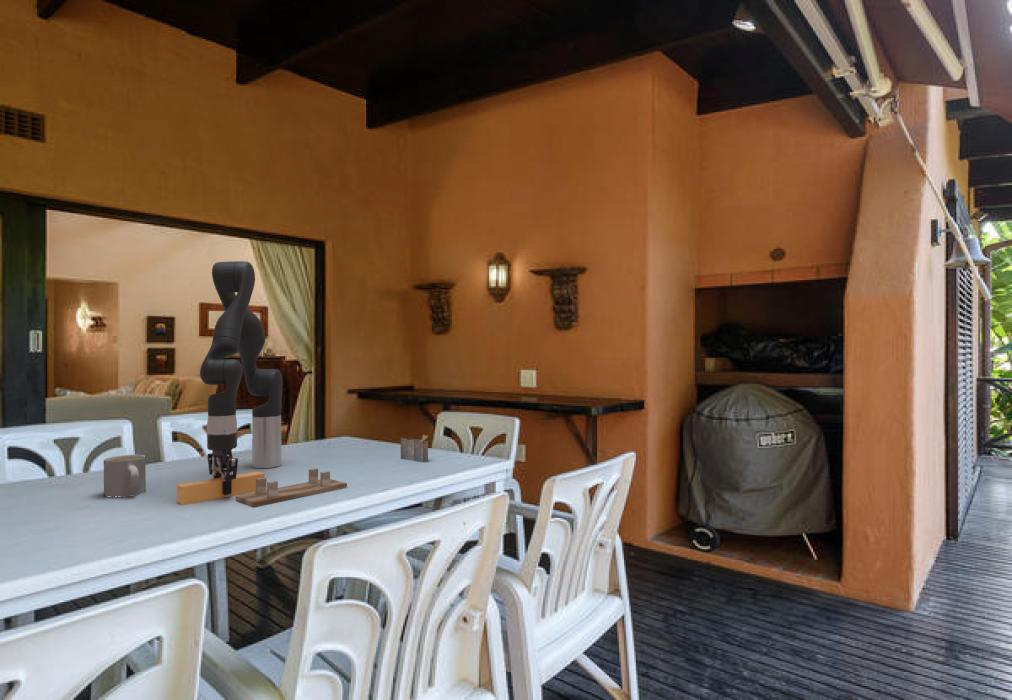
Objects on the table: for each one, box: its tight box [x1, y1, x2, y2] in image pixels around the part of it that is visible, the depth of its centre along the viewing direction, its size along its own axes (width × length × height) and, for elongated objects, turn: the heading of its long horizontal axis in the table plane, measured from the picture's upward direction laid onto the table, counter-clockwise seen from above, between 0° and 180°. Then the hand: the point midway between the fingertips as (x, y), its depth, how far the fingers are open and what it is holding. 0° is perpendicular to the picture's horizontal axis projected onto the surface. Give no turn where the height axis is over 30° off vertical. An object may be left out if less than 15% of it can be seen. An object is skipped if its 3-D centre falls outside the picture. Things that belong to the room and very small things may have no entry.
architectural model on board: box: [400, 434, 429, 463], centre depth 218 cm, size 11×3×10 cm, turn 53°
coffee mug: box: [103, 454, 147, 497], centre depth 168 cm, size 13×10×10 cm
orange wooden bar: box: [176, 471, 266, 506], centre depth 167 cm, size 4×22×5 cm, turn 136°
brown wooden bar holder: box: [235, 468, 348, 508], centre depth 169 cm, size 10×28×5 cm, turn 139°
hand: (222, 492), depth 167 cm, fingers open, 5 cm apart
